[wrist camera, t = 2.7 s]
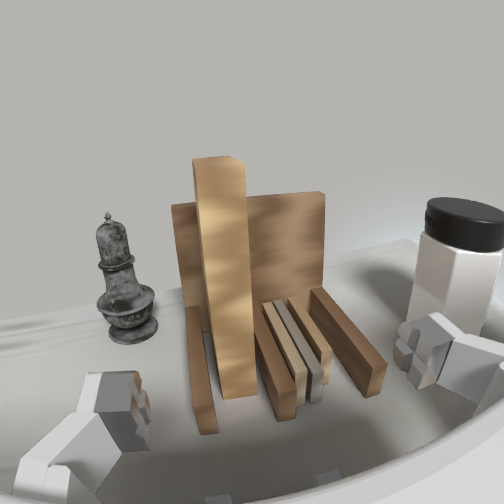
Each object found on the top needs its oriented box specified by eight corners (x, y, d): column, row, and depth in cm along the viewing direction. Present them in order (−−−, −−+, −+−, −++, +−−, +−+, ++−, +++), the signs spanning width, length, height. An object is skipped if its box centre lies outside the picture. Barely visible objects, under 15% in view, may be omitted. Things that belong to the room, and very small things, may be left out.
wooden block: (223, 400, 21) (195, 168, 15) (213, 350, 27) (192, 159, 21) (257, 394, 22) (244, 163, 16) (242, 346, 27) (228, 155, 21)
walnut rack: (200, 434, 18) (163, 270, 14) (189, 325, 31) (171, 204, 26) (379, 393, 21) (411, 238, 16) (315, 306, 33) (318, 191, 28)
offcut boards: (293, 407, 20) (295, 372, 19) (260, 329, 29) (259, 297, 28) (335, 396, 21) (341, 361, 20) (293, 324, 30) (294, 292, 29)
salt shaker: (142, 307, 34) (122, 201, 29) (172, 328, 30) (151, 207, 26) (97, 328, 30) (68, 217, 25) (122, 354, 26) (87, 226, 22)
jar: (423, 296, 33) (438, 192, 28) (485, 316, 27) (510, 208, 23) (394, 334, 27) (413, 207, 23) (470, 362, 22) (509, 230, 17)
